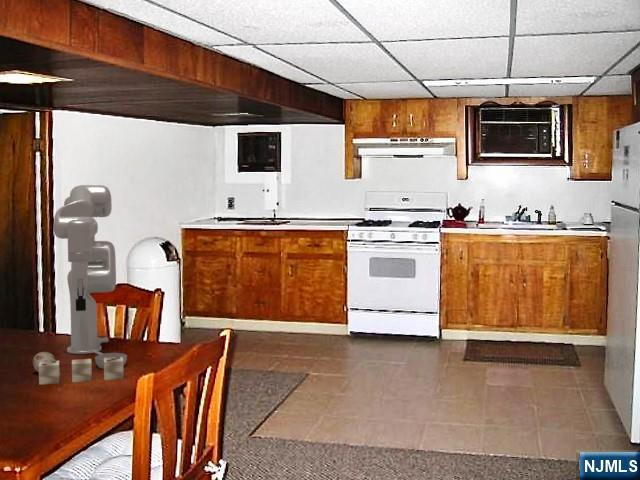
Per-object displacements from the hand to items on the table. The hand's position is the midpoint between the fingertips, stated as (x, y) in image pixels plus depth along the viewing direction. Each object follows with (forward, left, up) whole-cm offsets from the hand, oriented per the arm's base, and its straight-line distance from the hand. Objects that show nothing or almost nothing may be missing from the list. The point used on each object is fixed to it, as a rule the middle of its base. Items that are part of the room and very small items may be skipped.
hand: (80, 310), depth 258 cm
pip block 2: (-2, +14, -21) cm, 26 cm away
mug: (+10, -5, -21) cm, 24 cm away
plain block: (+6, +9, -21) cm, 24 cm away
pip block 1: (+14, +3, -21) cm, 26 cm away
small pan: (-11, -2, -21) cm, 24 cm away
